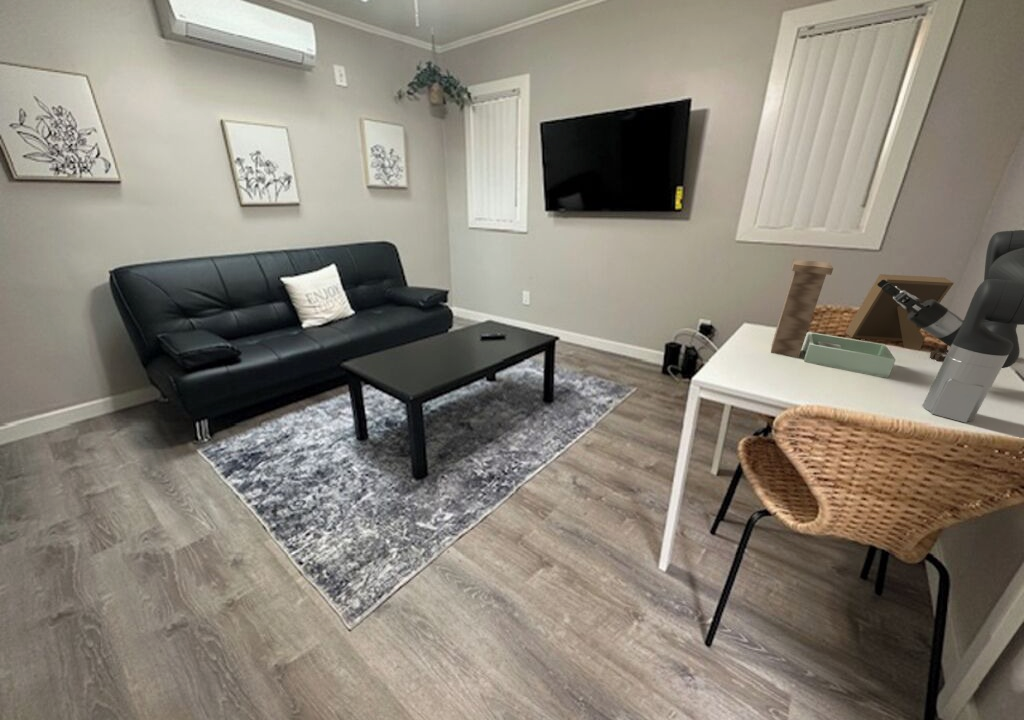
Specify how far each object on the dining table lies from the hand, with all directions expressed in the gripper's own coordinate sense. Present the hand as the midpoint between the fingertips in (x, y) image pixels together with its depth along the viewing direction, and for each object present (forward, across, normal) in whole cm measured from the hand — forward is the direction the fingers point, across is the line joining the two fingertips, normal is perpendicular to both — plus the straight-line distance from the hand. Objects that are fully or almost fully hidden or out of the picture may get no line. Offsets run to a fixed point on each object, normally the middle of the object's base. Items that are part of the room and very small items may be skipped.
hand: (882, 283), depth 121 cm
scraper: (-10, 0, -23) cm, 25 cm away
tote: (-11, 0, -24) cm, 26 cm away
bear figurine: (-40, +26, -8) cm, 49 cm away
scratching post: (+3, 0, -32) cm, 32 cm away
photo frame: (-26, +37, -16) cm, 47 cm away
